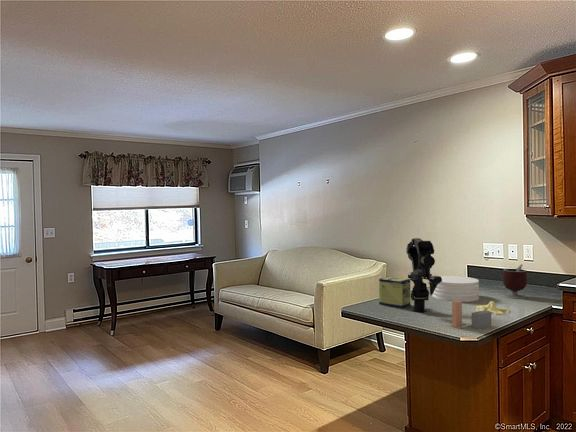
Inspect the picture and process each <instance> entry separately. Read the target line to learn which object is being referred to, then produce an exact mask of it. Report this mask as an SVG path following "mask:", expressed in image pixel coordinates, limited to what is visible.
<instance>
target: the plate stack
mask: <svg viewBox="0 0 576 432" xmlns="http://www.w3.org/2000/svg"><path fill="white" fill-rule="evenodd" d="M440 276H441V278H442V282H440V283H438V285H437V287H436V288H435V290H434V293H433V295H431V297H432V298H434V299H437V300H441V301H447V302H452V301H462V303H465V302H466V303H468V302H475V301H478V300H479V299H480V296H479V295H480V292H479V291H480V288H479V287H480V284H479V283H480V281H479V279H478V278H475V277H474V278H473V277H468V276H462V275H461V276H460V275H459V276H457V275H440Z"/></svg>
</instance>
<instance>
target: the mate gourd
mask: <svg viewBox="0 0 576 432" xmlns="http://www.w3.org/2000/svg"><path fill="white" fill-rule="evenodd" d="M522 267H523V264H520V265H518V267H517V268H504V269H503V271H502V284H503V286H504V287H505V288H506V289H507V290H510V291H511V293H504V295H503V297H505V298H508V299H515V300H523V299H526V295H524V294H519V293H518V292H520V291H522V290H524V289H525V288H526V286H527V284H528V273H527V270H526V269H523V268H522Z"/></svg>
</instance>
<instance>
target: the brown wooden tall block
mask: <svg viewBox="0 0 576 432" xmlns="http://www.w3.org/2000/svg"><path fill="white" fill-rule="evenodd" d="M451 303H452V304H451V306H452V308H451V321H452V322H451V326H452V327H453V328H458V327H460V326H463V302H462V301H451Z"/></svg>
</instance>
